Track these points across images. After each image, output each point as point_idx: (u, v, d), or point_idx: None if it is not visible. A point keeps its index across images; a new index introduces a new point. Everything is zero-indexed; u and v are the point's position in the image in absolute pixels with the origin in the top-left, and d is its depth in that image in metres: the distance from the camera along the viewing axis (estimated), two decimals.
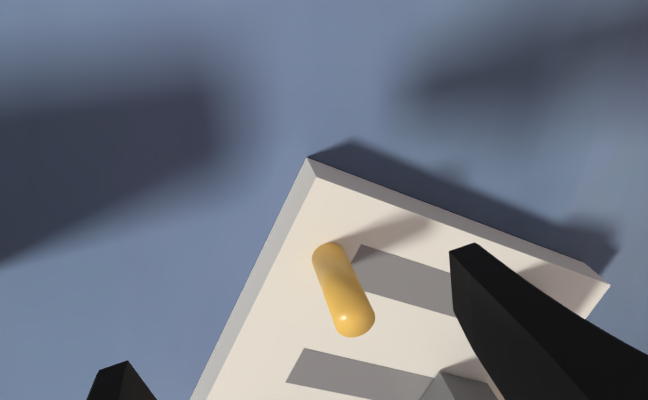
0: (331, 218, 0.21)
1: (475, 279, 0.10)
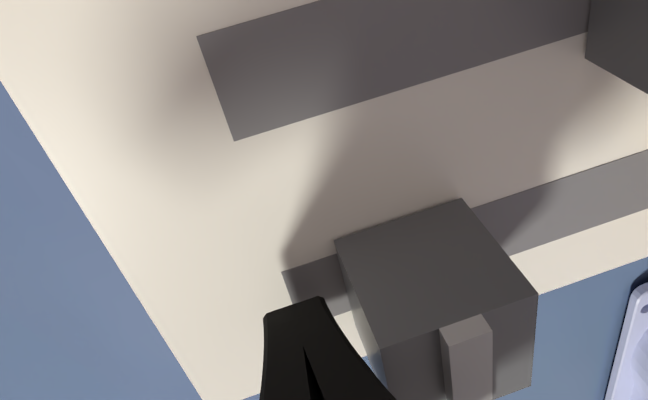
0: None
1: (300, 340, 0.10)
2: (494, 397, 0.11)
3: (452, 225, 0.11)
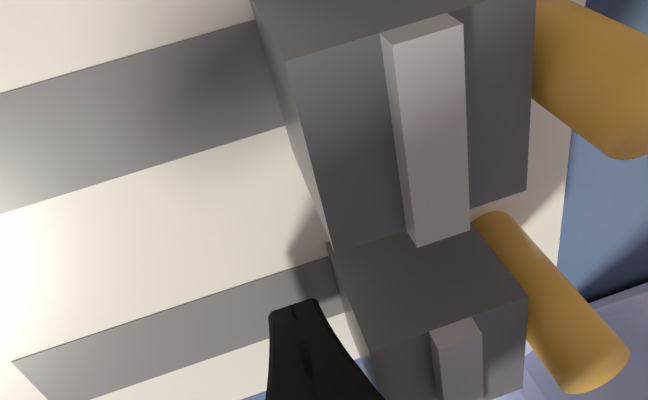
0: None
1: (294, 342, 0.10)
2: None
3: None
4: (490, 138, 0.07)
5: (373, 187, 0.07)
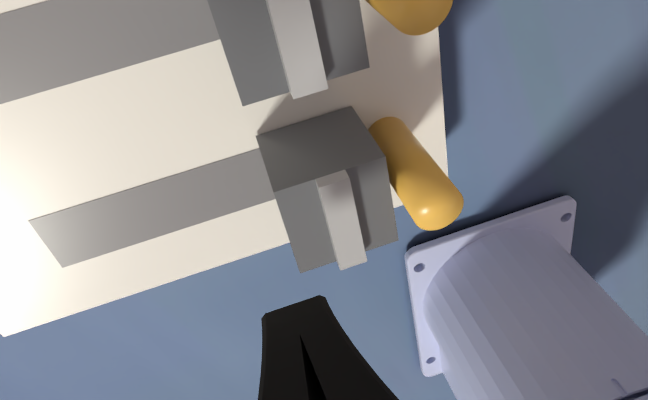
0: None
1: (302, 339, 0.10)
2: (371, 247, 0.15)
3: (340, 122, 0.15)
4: (336, 26, 0.11)
5: (262, 57, 0.11)
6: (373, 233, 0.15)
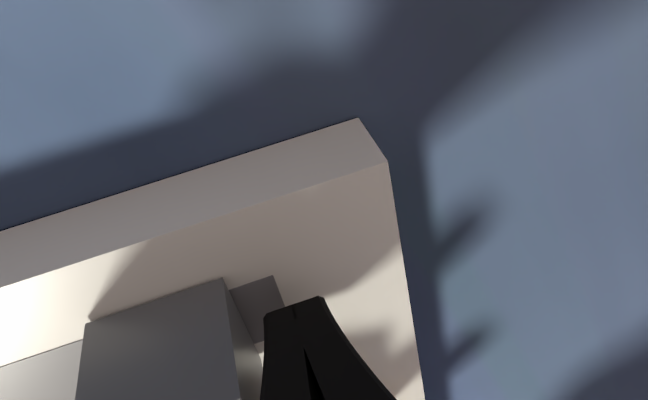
0: None
1: (301, 339, 0.10)
2: None
3: None
4: None
5: None
6: None
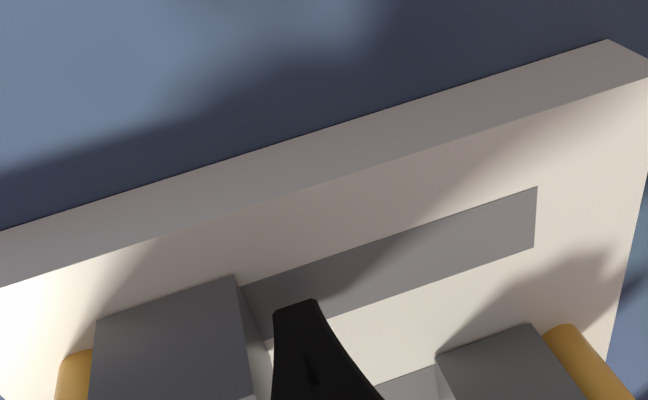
0: (22, 335, 0.11)
1: (293, 342, 0.10)
2: None
3: None
4: None
5: None
6: None
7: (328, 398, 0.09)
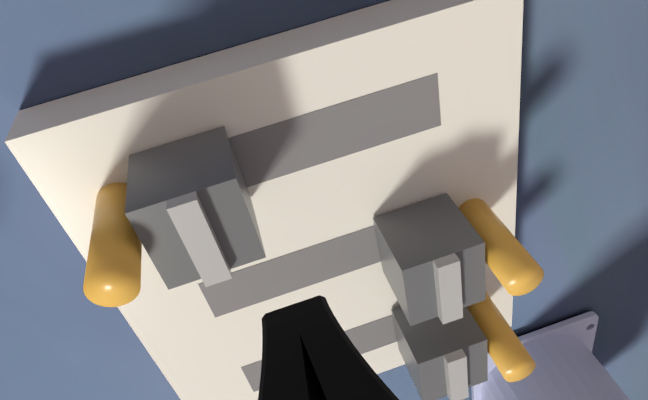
0: (73, 166, 0.16)
1: (302, 339, 0.10)
2: (469, 386, 0.23)
3: None
4: (470, 284, 0.19)
5: (426, 303, 0.19)
6: (472, 378, 0.23)
7: None
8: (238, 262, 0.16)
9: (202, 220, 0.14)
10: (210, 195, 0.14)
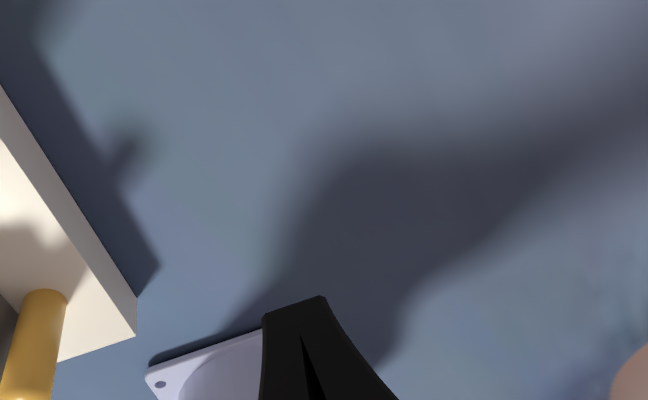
0: None
1: (302, 339, 0.10)
2: None
3: None
4: None
5: None
6: None
7: None
8: None
9: None
10: None
